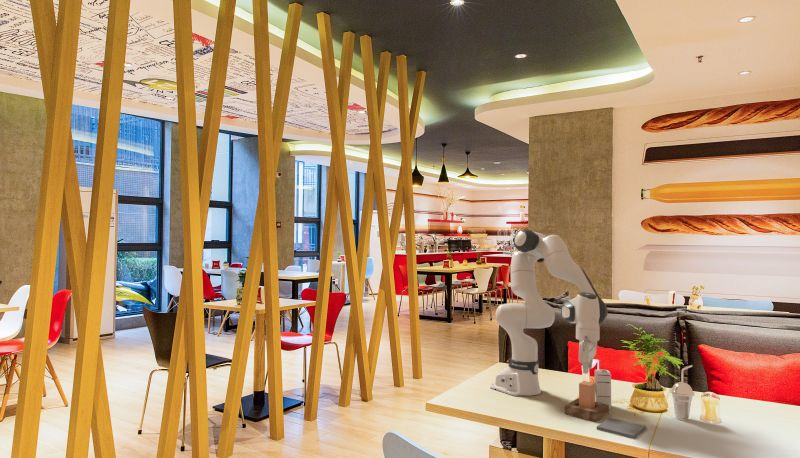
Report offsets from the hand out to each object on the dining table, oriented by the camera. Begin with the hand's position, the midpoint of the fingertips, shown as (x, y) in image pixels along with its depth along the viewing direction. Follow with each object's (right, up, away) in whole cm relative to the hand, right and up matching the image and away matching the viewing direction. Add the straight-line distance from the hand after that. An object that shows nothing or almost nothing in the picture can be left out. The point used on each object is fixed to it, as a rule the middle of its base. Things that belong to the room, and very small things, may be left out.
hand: (587, 370), depth 214 cm
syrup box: (+9, -17, +9) cm, 22 cm away
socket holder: (0, -17, 0) cm, 17 cm away
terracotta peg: (0, -17, 0) cm, 17 cm away
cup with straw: (+35, -17, -4) cm, 39 cm away
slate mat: (+7, -17, -16) cm, 24 cm away
